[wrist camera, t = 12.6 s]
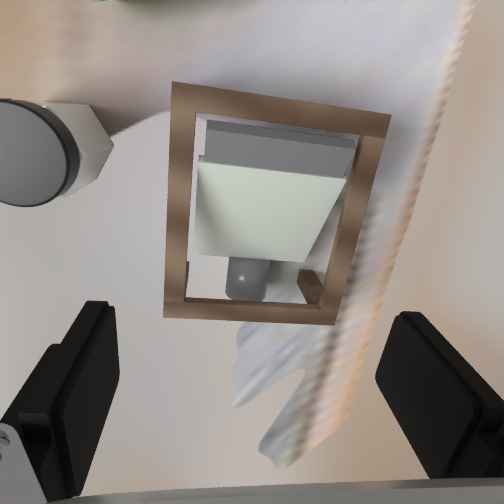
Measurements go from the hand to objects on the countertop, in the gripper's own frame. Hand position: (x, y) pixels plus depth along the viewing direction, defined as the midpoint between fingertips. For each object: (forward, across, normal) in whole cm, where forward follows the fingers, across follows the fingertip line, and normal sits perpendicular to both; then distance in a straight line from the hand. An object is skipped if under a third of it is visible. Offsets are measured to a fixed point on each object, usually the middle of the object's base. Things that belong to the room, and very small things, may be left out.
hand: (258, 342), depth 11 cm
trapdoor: (+26, -4, +3) cm, 26 cm away
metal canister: (+29, -4, +11) cm, 31 cm away
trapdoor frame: (+31, -4, +4) cm, 32 cm away
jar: (+32, +17, -1) cm, 36 cm away
